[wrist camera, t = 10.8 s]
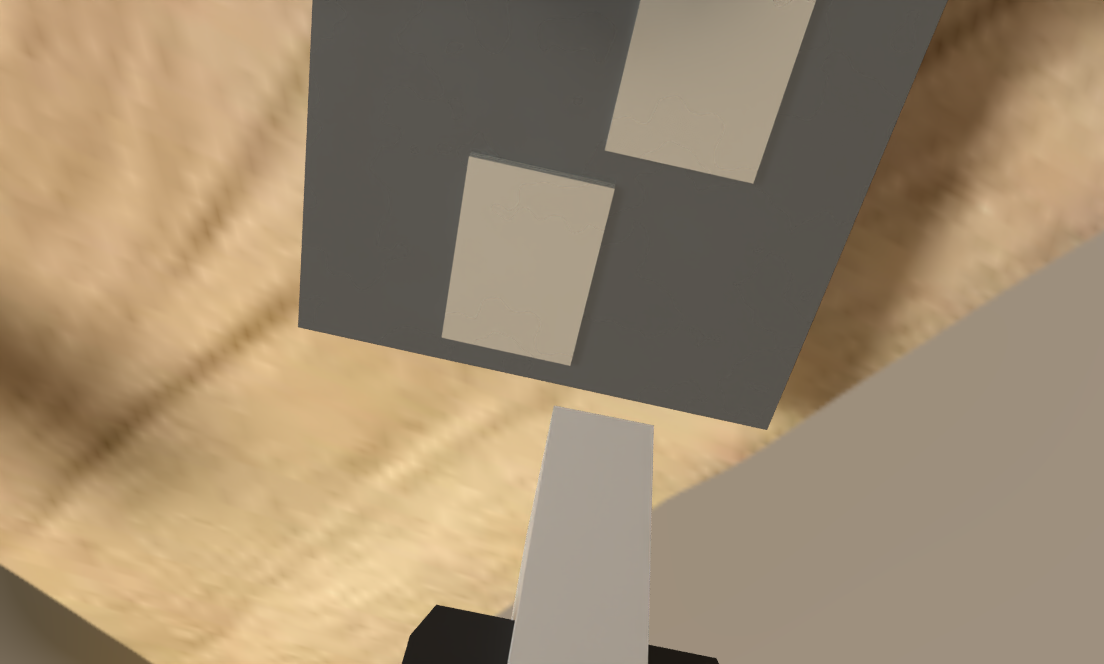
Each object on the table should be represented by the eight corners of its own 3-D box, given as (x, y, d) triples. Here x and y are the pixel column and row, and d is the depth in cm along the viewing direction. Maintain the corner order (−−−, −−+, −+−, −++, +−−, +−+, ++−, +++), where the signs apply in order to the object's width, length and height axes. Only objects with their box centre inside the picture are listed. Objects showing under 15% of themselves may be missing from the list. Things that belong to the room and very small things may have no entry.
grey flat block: (388, -483, 21) (323, -534, 17) (1026, -334, 21) (1109, -349, 17) (336, 264, 32) (289, 341, 28) (756, 357, 32) (769, 446, 28)
